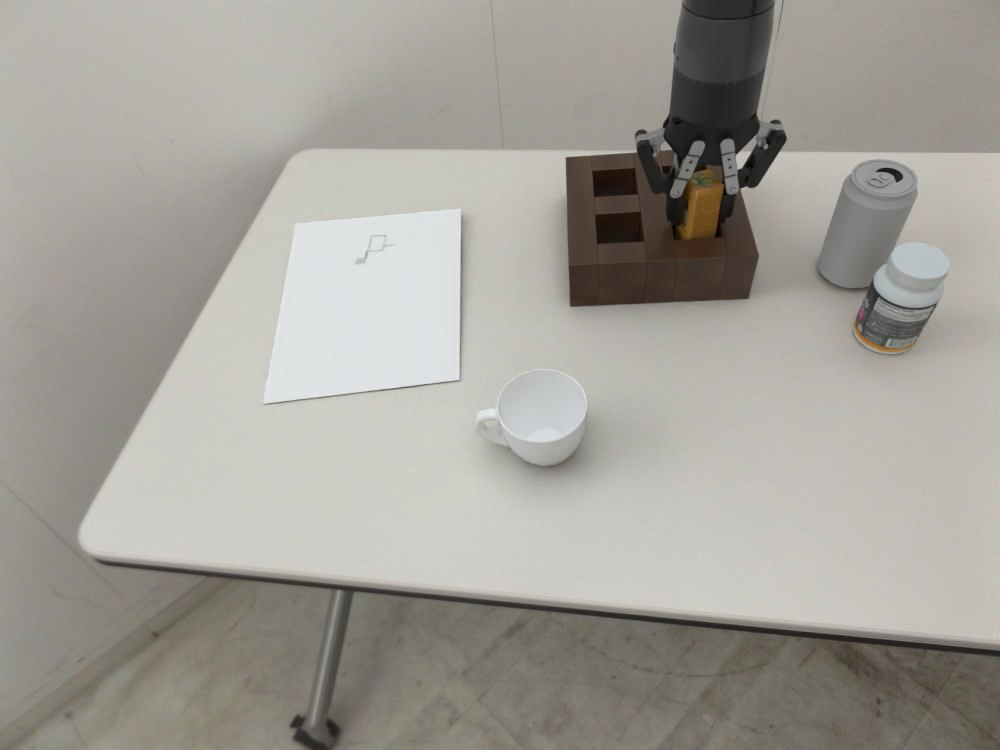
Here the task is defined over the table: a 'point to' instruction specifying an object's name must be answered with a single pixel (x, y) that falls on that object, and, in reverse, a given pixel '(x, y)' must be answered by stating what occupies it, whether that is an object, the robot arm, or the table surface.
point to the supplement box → (700, 206)
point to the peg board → (646, 239)
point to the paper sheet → (368, 306)
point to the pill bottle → (902, 298)
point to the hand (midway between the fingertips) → (697, 219)
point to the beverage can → (867, 222)
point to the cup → (538, 416)
